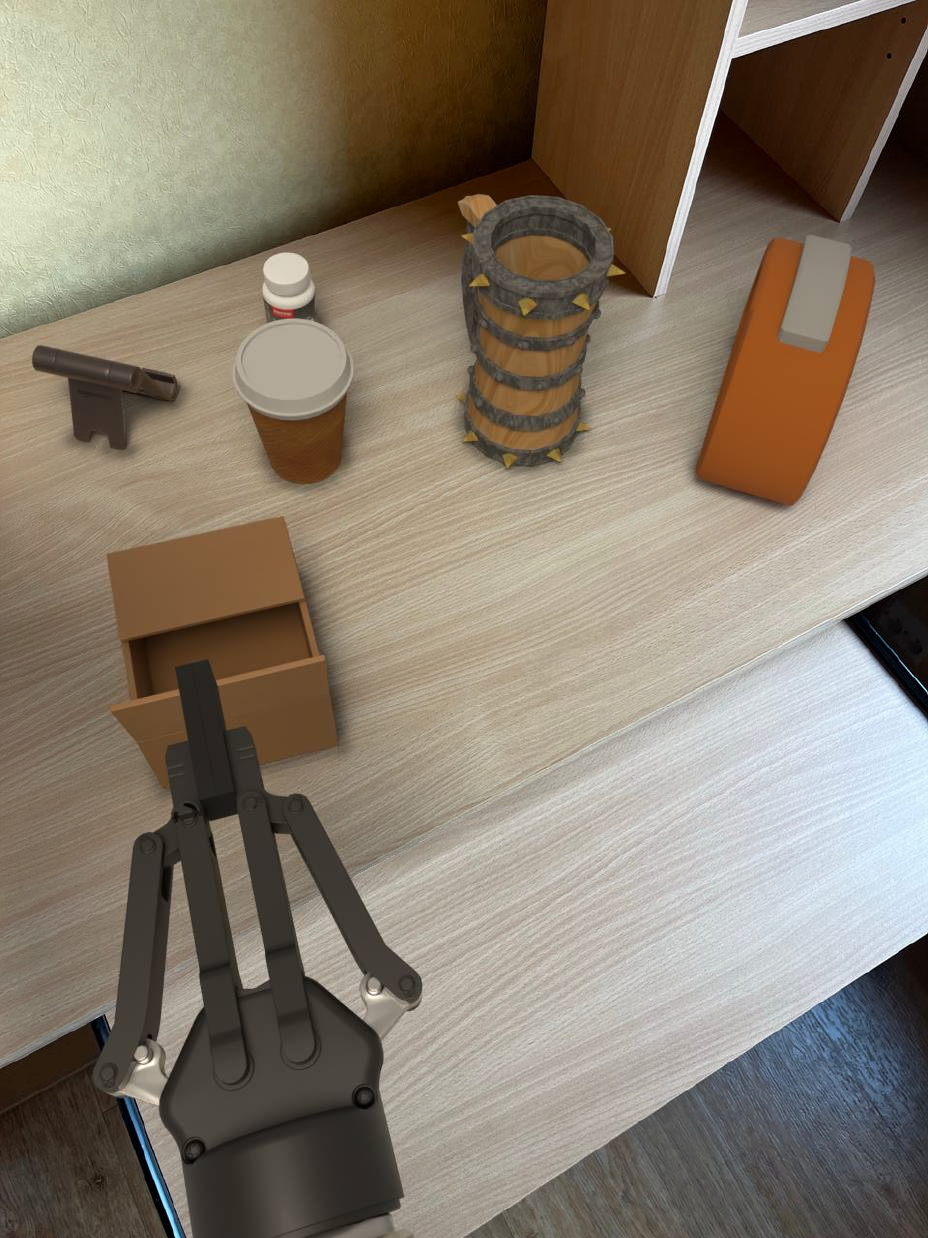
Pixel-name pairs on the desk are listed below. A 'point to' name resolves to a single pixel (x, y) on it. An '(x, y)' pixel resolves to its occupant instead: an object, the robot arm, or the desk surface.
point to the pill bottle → (288, 288)
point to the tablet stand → (101, 389)
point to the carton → (219, 628)
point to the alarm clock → (788, 368)
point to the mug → (529, 321)
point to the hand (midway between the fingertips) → (196, 677)
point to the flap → (228, 697)
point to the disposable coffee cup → (296, 395)
